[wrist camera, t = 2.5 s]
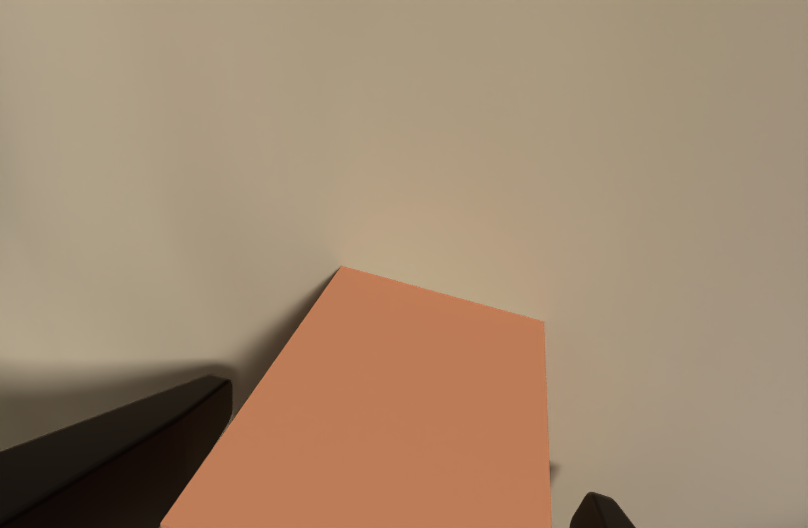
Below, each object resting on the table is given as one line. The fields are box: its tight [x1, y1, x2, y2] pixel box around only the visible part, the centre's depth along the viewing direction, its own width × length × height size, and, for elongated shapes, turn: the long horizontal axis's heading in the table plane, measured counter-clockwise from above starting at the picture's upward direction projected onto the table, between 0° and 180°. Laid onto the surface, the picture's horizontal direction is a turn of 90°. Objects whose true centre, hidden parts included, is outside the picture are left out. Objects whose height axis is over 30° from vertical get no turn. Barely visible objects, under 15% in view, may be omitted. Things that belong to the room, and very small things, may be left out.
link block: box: [160, 266, 552, 528], centre depth 8 cm, size 4×6×5 cm, turn 170°
